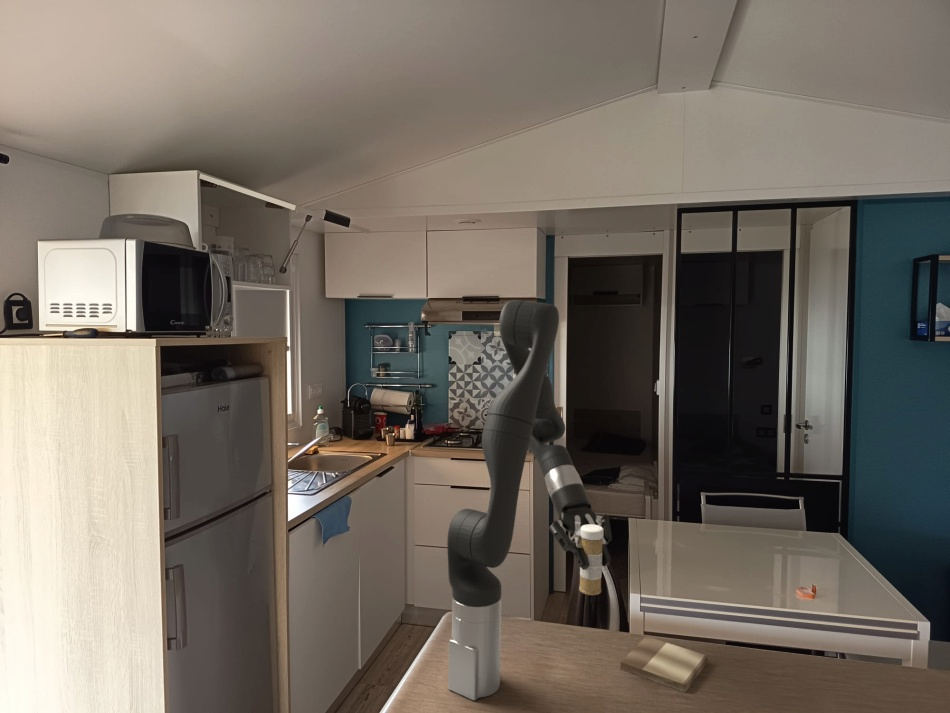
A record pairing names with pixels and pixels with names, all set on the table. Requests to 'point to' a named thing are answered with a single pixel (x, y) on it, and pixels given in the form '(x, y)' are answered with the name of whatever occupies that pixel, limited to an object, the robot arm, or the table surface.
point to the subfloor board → (665, 663)
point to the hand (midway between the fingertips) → (596, 565)
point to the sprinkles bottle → (591, 559)
